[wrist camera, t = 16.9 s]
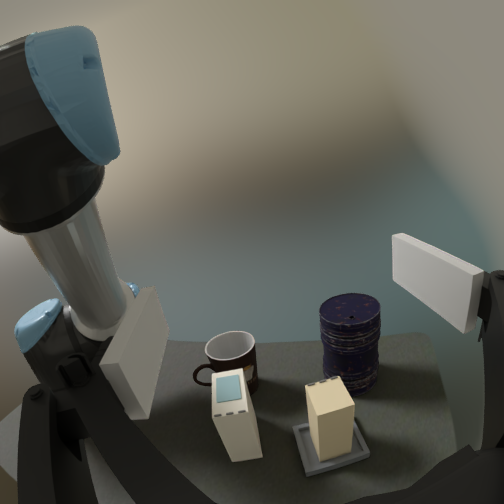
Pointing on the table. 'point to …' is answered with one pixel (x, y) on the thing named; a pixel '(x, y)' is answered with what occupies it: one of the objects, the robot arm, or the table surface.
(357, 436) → the tray
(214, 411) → the cream box with panel
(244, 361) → the coffee mug
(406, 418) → the table surface
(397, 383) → the table surface
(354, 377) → the storage jar
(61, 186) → the robot arm
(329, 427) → the cream rectangular block
